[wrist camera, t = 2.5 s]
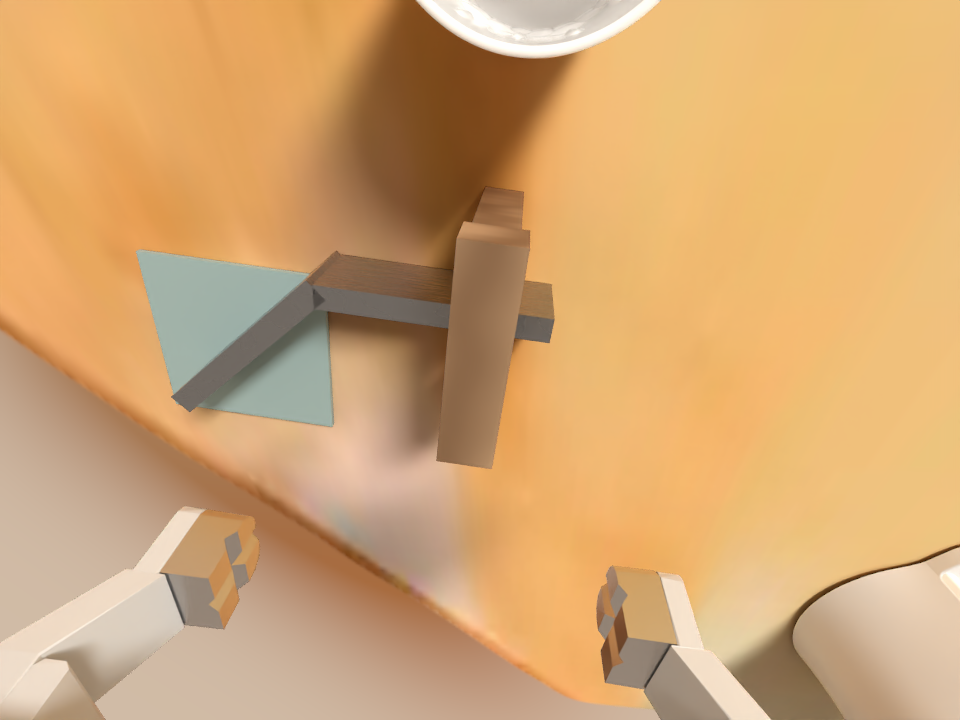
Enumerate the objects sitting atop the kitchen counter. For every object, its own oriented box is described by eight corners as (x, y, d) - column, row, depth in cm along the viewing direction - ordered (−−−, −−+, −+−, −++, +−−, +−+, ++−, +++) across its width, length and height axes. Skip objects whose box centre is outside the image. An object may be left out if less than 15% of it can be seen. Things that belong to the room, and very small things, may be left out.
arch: (530, 192, 23) (530, 248, 16) (501, 369, 28) (491, 469, 21) (478, 185, 23) (456, 238, 16) (459, 363, 28) (436, 460, 21)
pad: (325, 275, 26) (323, 278, 26) (333, 423, 31) (332, 426, 31) (139, 249, 26) (136, 251, 26) (179, 400, 31) (176, 403, 31)
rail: (551, 281, 25) (555, 316, 21) (524, 415, 29) (523, 461, 26) (186, 229, 25) (132, 255, 22) (215, 369, 30) (174, 409, 26)
